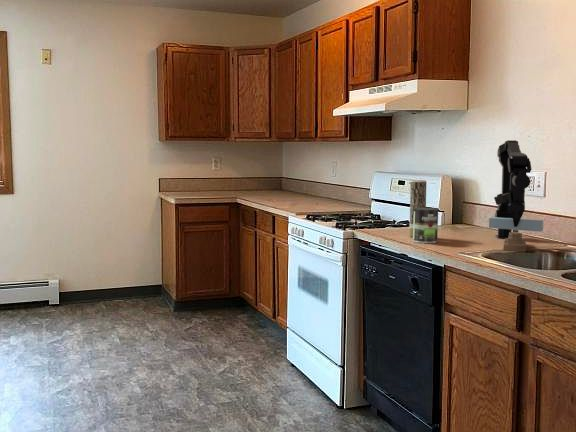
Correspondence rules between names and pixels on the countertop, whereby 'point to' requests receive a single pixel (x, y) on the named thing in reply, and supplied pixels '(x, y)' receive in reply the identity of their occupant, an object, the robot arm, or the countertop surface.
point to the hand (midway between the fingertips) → (515, 226)
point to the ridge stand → (515, 242)
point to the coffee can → (425, 225)
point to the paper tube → (416, 199)
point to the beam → (523, 224)
